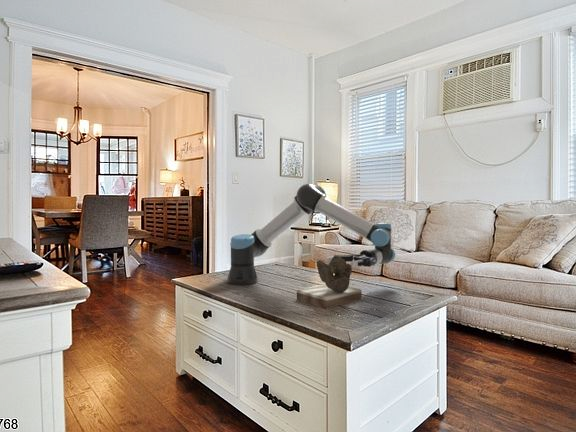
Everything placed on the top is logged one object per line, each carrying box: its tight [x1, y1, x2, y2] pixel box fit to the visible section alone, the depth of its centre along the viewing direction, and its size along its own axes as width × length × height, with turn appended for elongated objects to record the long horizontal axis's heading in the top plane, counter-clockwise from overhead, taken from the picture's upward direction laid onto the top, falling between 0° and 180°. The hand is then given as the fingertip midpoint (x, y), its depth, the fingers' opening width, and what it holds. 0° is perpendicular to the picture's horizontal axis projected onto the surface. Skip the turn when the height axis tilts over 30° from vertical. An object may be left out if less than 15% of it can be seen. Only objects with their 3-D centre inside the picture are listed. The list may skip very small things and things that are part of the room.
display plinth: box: [296, 283, 362, 309], centre depth 152 cm, size 17×21×4 cm
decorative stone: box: [316, 254, 353, 293], centre depth 149 cm, size 16×11×15 cm
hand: (339, 262), depth 155 cm, fingers open, 13 cm apart
